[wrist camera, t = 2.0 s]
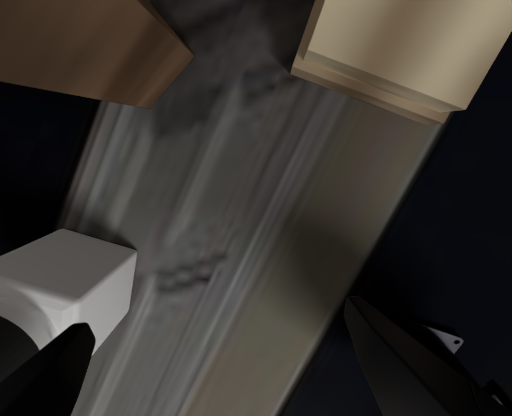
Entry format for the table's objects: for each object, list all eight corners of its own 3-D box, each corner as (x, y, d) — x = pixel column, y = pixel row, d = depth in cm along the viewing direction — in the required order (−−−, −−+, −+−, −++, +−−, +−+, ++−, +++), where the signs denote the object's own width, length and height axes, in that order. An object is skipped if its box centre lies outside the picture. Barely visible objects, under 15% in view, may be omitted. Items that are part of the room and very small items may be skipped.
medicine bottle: (62, 226, 21) (-181, 333, 10) (139, 249, 22) (-13, 381, 10) (59, 290, 24) (-141, 438, 12) (130, 311, 24) (-4, 476, 12)
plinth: (519, -52, 14) (614, -122, 10) (424, 124, 17) (468, 122, 13) (356, -118, 13) (389, -217, 10) (290, 74, 16) (294, 56, 13)
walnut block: (195, 56, 17) (19, -111, 5) (149, 108, 18) (-74, 67, 6) (140, -8, 16) (-218, -382, 4) (96, 52, 17) (-271, -113, 6)
